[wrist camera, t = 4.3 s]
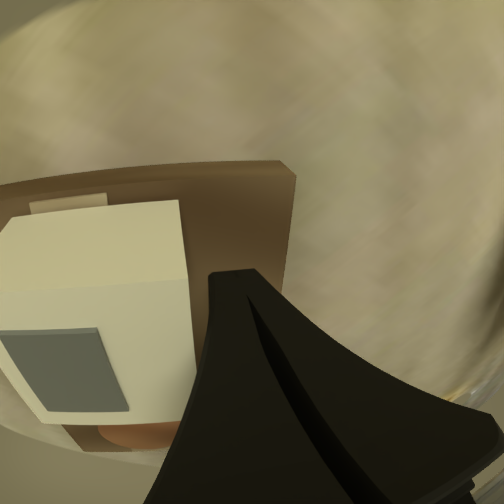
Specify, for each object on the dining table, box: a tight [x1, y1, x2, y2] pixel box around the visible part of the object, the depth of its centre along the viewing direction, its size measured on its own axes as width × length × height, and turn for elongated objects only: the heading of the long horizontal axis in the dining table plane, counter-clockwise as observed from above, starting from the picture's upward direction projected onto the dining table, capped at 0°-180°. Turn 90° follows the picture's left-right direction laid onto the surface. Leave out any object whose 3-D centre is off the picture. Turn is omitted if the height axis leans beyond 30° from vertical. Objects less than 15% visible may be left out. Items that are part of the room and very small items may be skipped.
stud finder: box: [0, 200, 197, 425], centre depth 8 cm, size 5×5×4 cm
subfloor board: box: [0, 161, 296, 452], centre depth 13 cm, size 16×11×2 cm
